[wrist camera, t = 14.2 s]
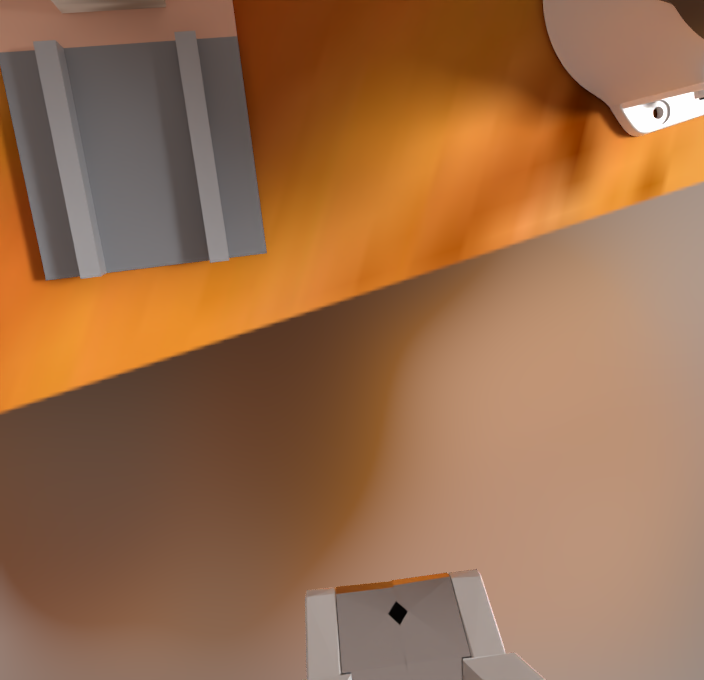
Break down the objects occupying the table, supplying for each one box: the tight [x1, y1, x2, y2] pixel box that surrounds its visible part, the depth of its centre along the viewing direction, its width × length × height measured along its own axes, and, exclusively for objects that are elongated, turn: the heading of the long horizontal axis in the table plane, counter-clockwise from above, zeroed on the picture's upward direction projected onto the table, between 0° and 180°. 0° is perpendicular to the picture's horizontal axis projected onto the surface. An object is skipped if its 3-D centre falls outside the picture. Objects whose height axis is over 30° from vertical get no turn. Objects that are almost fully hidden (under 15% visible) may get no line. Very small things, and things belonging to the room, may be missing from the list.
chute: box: [0, 0, 267, 280], centre depth 39 cm, size 14×27×3 cm, turn 6°
